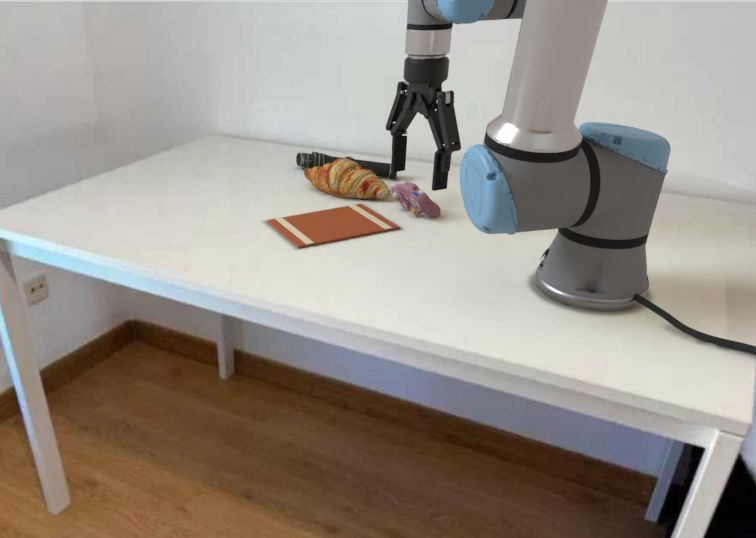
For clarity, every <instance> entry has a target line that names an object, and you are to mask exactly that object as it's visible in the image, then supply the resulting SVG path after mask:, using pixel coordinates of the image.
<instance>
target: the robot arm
mask: <svg viewBox="0 0 756 538" xmlns="http://www.w3.org/2000/svg"><path fill="white" fill-rule="evenodd" d="M608 2H609V0H407V13H406V14H407V15H406V16H407V17H406V28H405V42H404V43H405V44H404V54H405V55H406V57H405V59H404V64H403V80H404V81H402V80H401V81H398V82H397V86H396V94H395V97H394V99H393V103H392V105H391V109H390V112H389V115H388V117H387V122H386V124H385V130H386V131H388V132H390V135H391V137H392V138H391V161H390V164H391V172H397V173H398V172H403V171H404V172H405V171H406V164H407V163H406V161H407V146H408V131H407V130H408V129H409V127H410V126H411V124H412V122H413V120H414V119H415V117H416V116H417V114H420V115H422V116H423V118H424V119H425V120H427V122H428V125H429V128H430V131H431V134H432V137H433V139H434V143H435V146H436V149H437V150H436V151H435V152H434V157H433V170H432V182H431V191H433V192H435V191H436V192H437V191H443V190H447V188H448V181H449V173H450V170H451V163H452V162H451V161H452V154H453V153H454V152H459V151H461V149H462V144H461V137H460V132H459V125H458V121H457V115H456V110H455V92H454V90H444V91H443V83H444V82H446V81H447V80H448V78H449V71H450V58H449V57H448V56H447V55H449V54H450V53H451V42H452V31H453V26H454V24H455V25H462V24H463V25H468V24H474V23H477V22H482V21H483V22H485V21H501V20H520V19H521V21H520V27H519V30H518V35H517V40H516V45H515V49H514V55H513V60H512V64H511V69H510V74H509V78H508V83H507V88H506V92H505V96H504V101H503V106H502V111H501V113H500V114H499V115H497V116H496V117H494V118H493V119H491V120H490V121H489V122H488V123H487V124H486V127H485V133H484V138H483V142H482V144H479V143H478V144H474V145H473V146H470V147H469V148H468V149H467V150H466V152H464V153H463V155H462V158H461V162H460V167H459V186H460V193H461V199H462V202H463V206H464V209H465V211H466V214H467V217H468V218H469V220H470V222H471V223H472V225H473V226H474V227H475V228H476V229H477V230H478V231H480V232H482V233H484V234H487V235H502V234H503V235H505V234H506V235H509V236H511V235H515V234H517V233H526V232H527V233H528V232H536V231H537V232H538V231H546V230H547V231H548V230H557V231H556V232H557V233H556V234H555V237H554V238H553V240H552V241H551V243H550V245H549V246H548V247H547V248H546V250H545V251H544V252H543V254H542V255H541V257H540V259H539V261H540V262H539V264H538V266H537V267H536V271H535V277H534V285H535V287H536V289H537V290H538V291H539V292H540V293H542V294H543V295H544V296H546V297H547V298H549V299H551V300H553V301H555V302H557V303H560V304H562V305H566V306H569V307H571V308H576V309H580V310H587V311H595V312H620V311H626V310H631V309H634V308H637V307H639V306H641V305H642V306H643V307H645V308H647V309H648V310H649V311H651V312H653V313H654V314H656V315H658V316H659V317H661V319H664V320H665V321H667V323H669V324H670V325H671V326H673V327H674V328H676V329H677V330H679V331H681V332H682V333H684V334H686V335H688V336H690V337H693V338H695V339H698V340H700V341H703V342H706V343H710V344H713V345H717V346H722V347H725V348H730V349H734V350H739V351H743V352H747V353H751V354H752V355H753V354H754V355H756V345H752V344H748V343H745V342H742V341H741V342H740V341H736V340H732V339H726V338H722V337H718V336H715V335H711V334H708V333H705V332H702V331H699V330H697V329H695V328H692V327H690V326H688V325H687V324H684V323H683V322H682V321H680V320H679V319H677V318H676V317H674V315H672V314H671V313H669V312H667V310H665V309H663V308H662V307H660V306H659V305H657V304H655V303H654V302H651V301H650V300H649V299H647V295H648V292H649V288H650V280H649V276H648V264H647V247H646V246H647V241H648V237H649V234H650V231H651V227H652V223H653V220H654V216H655V212H656V209H657V205H658V203H659V198H660V195H661V192H662V190H663V189H662V188H663V185H664V182H665V178H666V175H667V174H668V172H669V171H668V164H669V160H670V159H669V158H670V156H671V151H672V150H671V144H670V143H669V140H667V139H666V137H663V136H662V135H660V134H657V133H655V132H653V131H649V130H646V129H642V128H638V127H635V126H629V125H623V124H619V123H610V122H597V121H588V122H584V123H581V124H580V125H579V126H578V127H577V125H576V124H575V119H576V116H577V112H578V108H579V106H580V101H581V98H582V94H583V91H584V87H585V83H586V79H587V76H588V73H589V69H590V66H591V62H592V59H593V55H594V51H595V48H596V46H597V45H596V44H597V41H598V38H599V34H600V30H601V26H602V23H603V21H604V16H605V13H606V10H607V6H608Z"/></svg>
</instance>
